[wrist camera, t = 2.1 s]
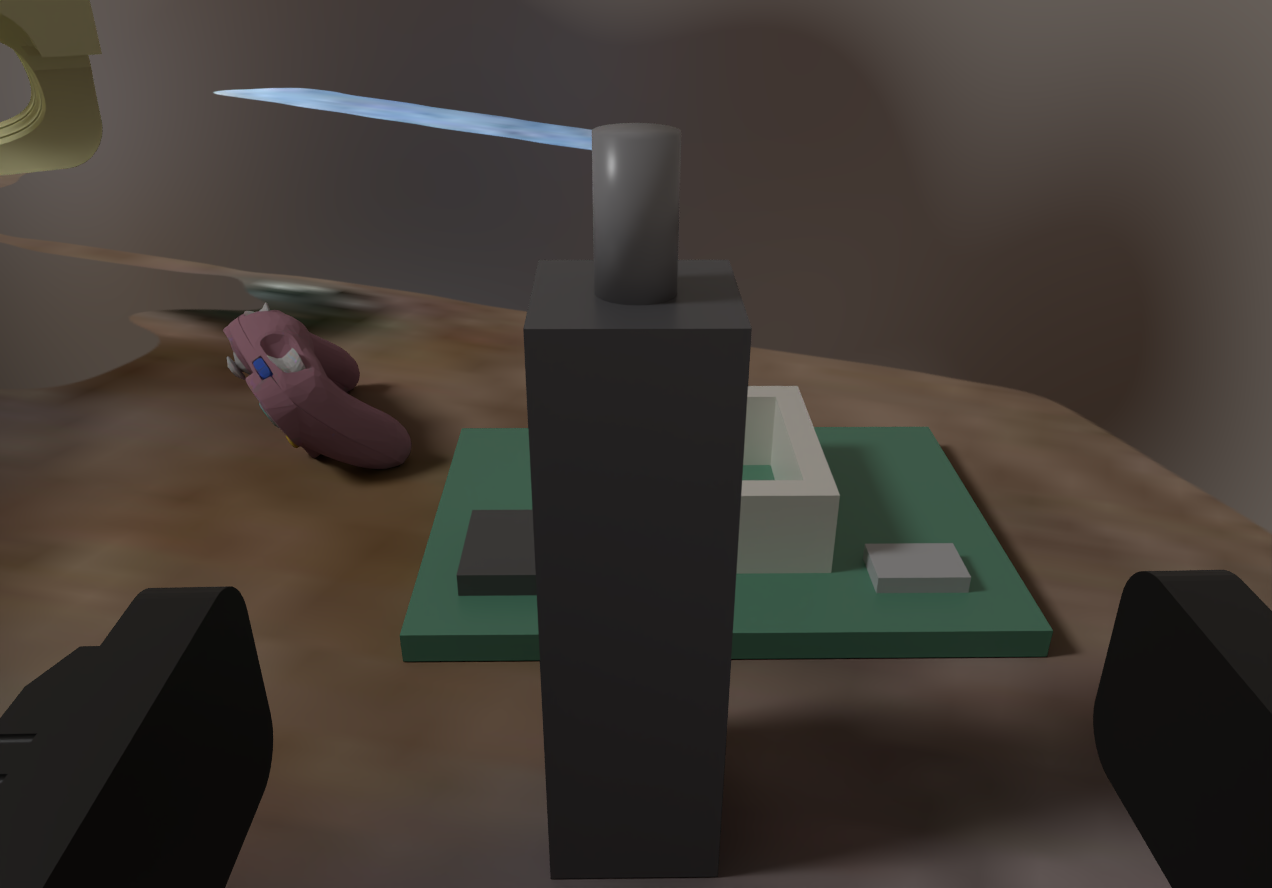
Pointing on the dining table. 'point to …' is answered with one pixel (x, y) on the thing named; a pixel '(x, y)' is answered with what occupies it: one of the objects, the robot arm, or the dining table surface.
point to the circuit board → (756, 550)
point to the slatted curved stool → (51, 85)
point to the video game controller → (312, 391)
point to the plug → (635, 523)
